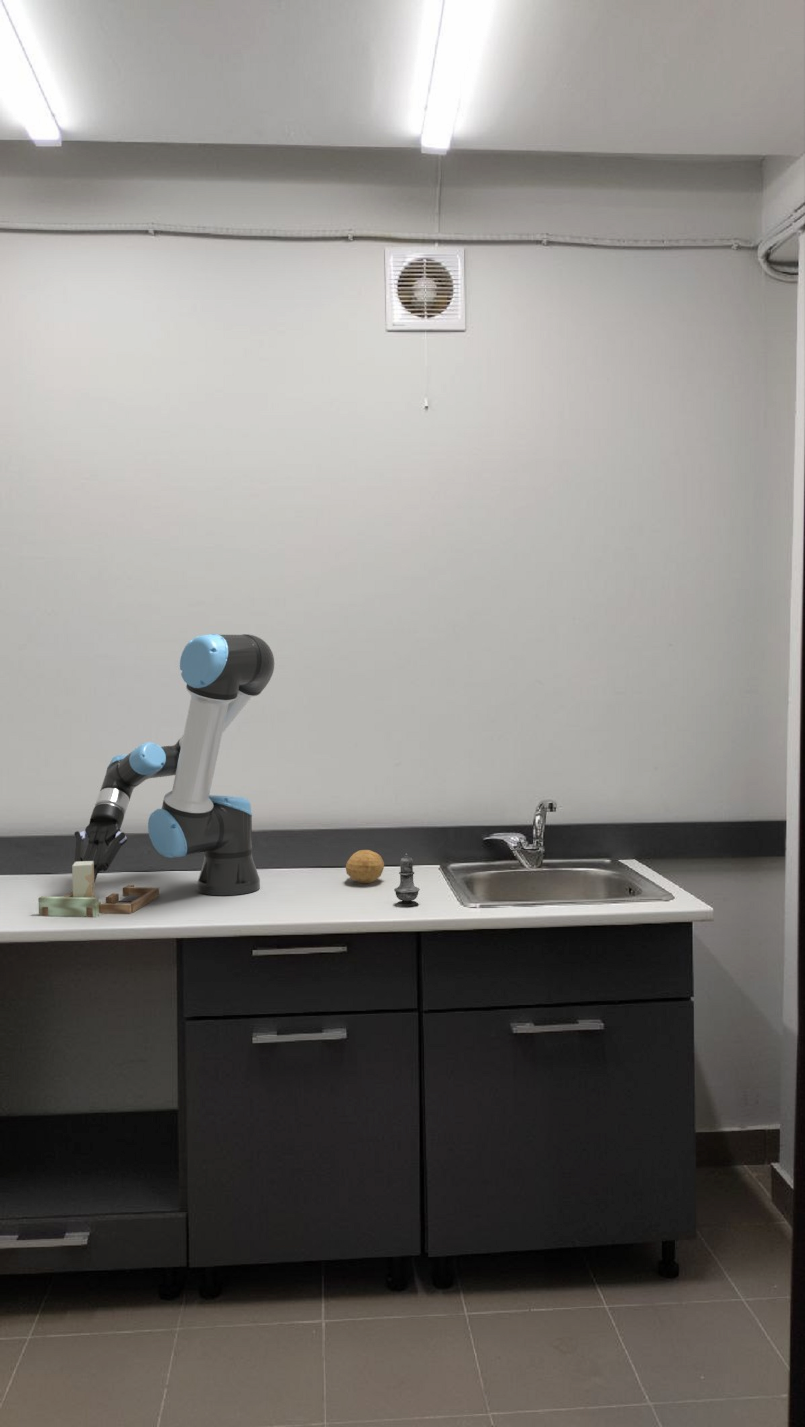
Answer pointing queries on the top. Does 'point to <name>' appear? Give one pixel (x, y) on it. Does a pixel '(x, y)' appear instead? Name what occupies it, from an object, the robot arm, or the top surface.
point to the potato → (365, 866)
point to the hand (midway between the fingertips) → (81, 894)
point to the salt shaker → (406, 884)
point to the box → (83, 879)
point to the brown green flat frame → (97, 903)
